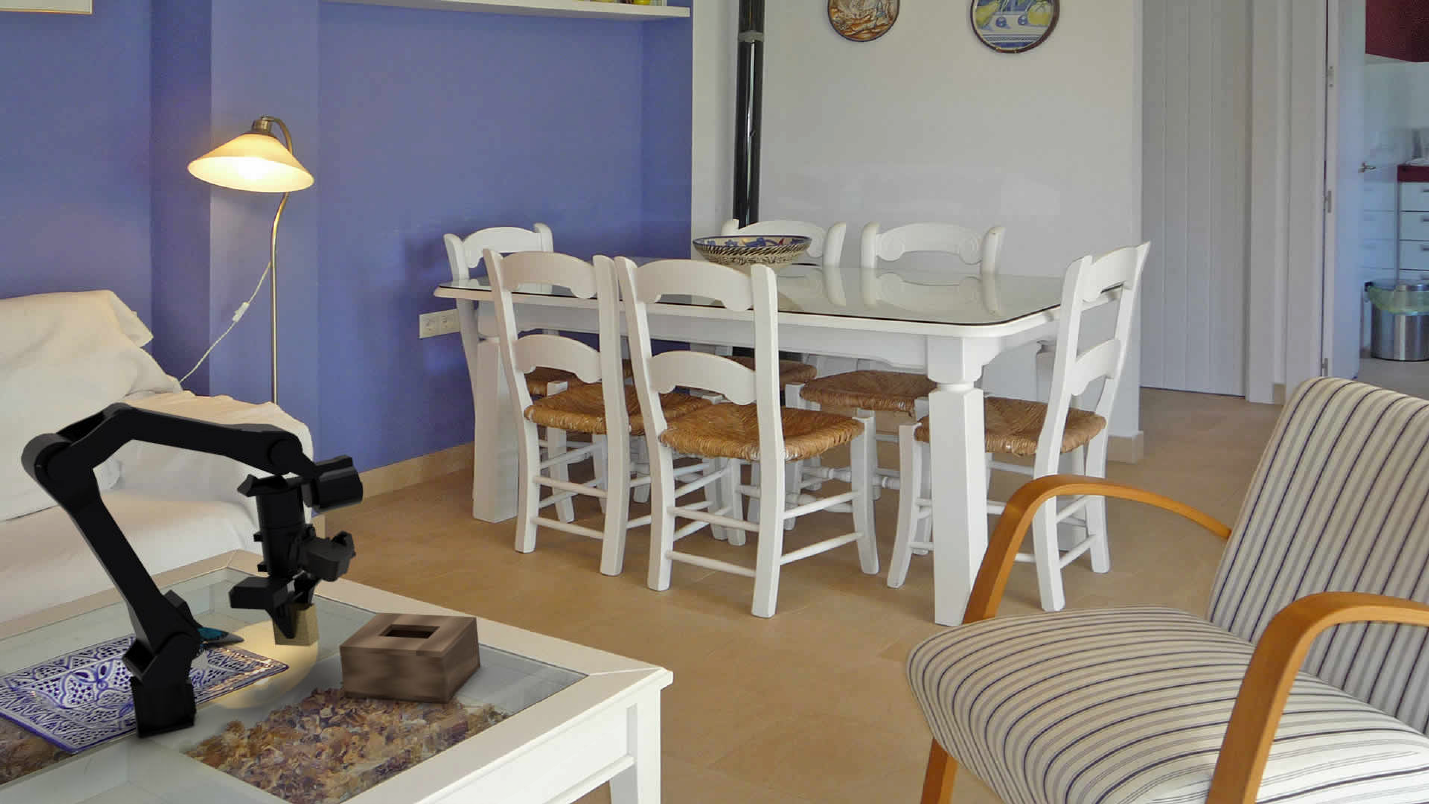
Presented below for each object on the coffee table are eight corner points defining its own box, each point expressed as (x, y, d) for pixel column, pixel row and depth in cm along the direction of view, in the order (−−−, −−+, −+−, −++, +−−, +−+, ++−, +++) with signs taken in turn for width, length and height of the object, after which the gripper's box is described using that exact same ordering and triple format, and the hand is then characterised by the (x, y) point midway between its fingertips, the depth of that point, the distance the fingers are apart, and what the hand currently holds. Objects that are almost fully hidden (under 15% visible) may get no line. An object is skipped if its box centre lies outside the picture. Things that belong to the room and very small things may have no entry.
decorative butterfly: (171, 614, 181) (231, 600, 179) (187, 655, 182) (246, 641, 180) (128, 643, 172) (190, 628, 169) (145, 685, 173) (207, 671, 171)
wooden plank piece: (275, 644, 165) (270, 609, 164) (285, 637, 167) (280, 601, 166) (309, 646, 164) (305, 610, 163) (319, 638, 166) (315, 603, 165)
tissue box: (345, 696, 161) (339, 646, 159) (384, 660, 171) (379, 612, 170) (446, 703, 158) (441, 651, 156) (480, 665, 168) (476, 617, 167)
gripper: (301, 548, 151) (315, 667, 155) (373, 501, 169) (385, 609, 173) (218, 545, 154) (234, 663, 157) (298, 499, 171) (311, 606, 175)
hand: (296, 634), depth 165 cm, fingers closed on wooden plank piece, 2 cm apart
